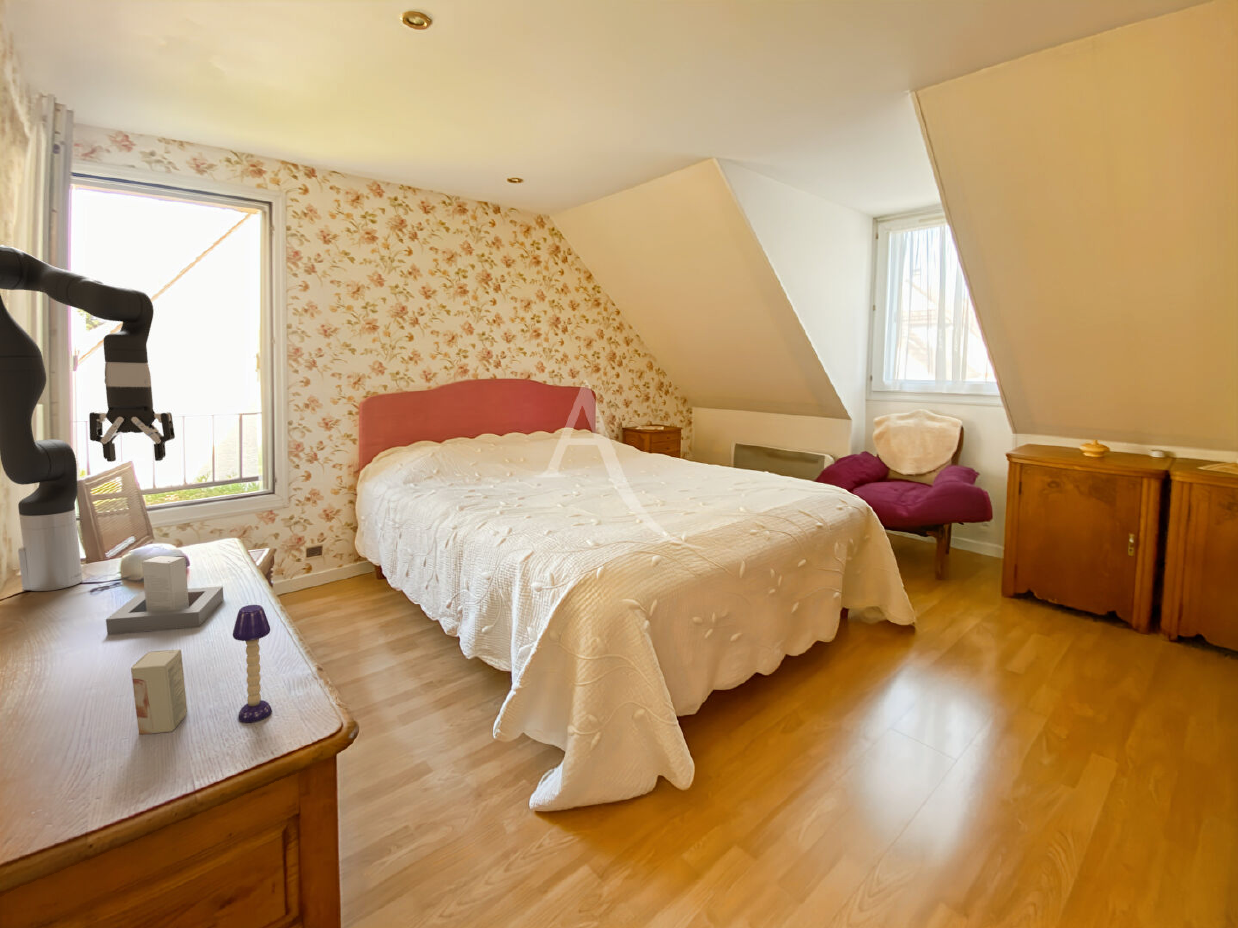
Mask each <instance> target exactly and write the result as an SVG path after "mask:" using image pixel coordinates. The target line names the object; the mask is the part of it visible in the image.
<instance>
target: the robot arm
mask: <svg viewBox="0 0 1238 928" xmlns="http://www.w3.org/2000/svg"><path fill="white" fill-rule="evenodd" d="M0 290H8V291H19V290H20V291H30V292H31V291H32V292H40V293H44V294H46V295H47V297H49V298H51V299H52V300H54V301H56V302H57V303H60V304H62V305H66V306H69V307H73V308H76V309H78V310H82V311H83V312H86V313H87V314H89V315H91V316H92V317H95V318H97V319H101V320H105V321H110V322H111V321H112V322H122V324H121V327H120V331H118V332H113V333H109V334H106V335H105V336H104V337H103V353H104V354H103V355H104V356H103V357H104V362H105V363H104V384H105V393H106V403H107V411H106V412H101V411H93V412H90V413H89V415H88V417H89V418H88V419H89V440H90V441H92V442H98V443H100V444H101V445H102V453H103V458H104V459H105V460H106V461H107V462H109V463H110V462H111V463H112V462H115V461H116V459H117V456H116V447H115V446H116V445H115V443H114V441H115V439H116V438H117V437H118V436H119V435H120V434H127V433H134V434H141V433H143V434H145V435H146V436H147V437H149V439H151V440H152V441H153V443H154V444H153V450H154V451H153V453H154V461H156V462H161V461H163V460H164V458H165V457H166V455H167V454H166V442H168V441H172V440H174V439H175V437H176V436H175V429H174V428H175V427H174V423H173V414H172V412H169V411H166V412H162V413H158V412H157V413H156V412H155V411H154V402H153V401H154V400H153V391H152V390H153V389H152V378H151V377H152V375H151V372H150V366H149V359H148V358H149V357H148V347H147V344H148V339H149V336H150V331H151V327H152V323H153V319H154V306H153V302H152V300H151V298H150V297H149V296H148V294H147V293H146V292H144V291H142V290H140V289H137V288H131V287H123V286H117V285H116V286H115V285H111V284H110V285H109V284H105V283H103V282H102V281H100V280H98V279H96V278H94V277H92V276H91V277H90V276H87V275H84V274H81V273H77V272H74V271H71V270H67V269H63V268H59V267H56V266H54V265H52V264H49V263H47V262H44V261H42V260H41V259H39V258H36V257H35V256H34V255H31V254H29V253H27V252H25V251H23V250H21V249H18V248H16V247H13V246H9V245H5V244H0ZM1 295H2V294H0V463H1V465H2V469H3V471H4V473H5V475H6V477H7V478H8V479H9V480H10V481H11V482H13V483H15V484H18V485H22V486H23V485H25V486H26V485H31V484H32V485H33V484H38V487H37V488H36V489H35V490H34V491H33V492H32V493H30V494H29V495H28V496H26V497H23V499H21V500H19V502H18V505H17V506H18V507H17V508H18V516H19V524H20V525H19V526H20V532H21V540H22V541H21V542H22V547H19V548H18V550H17V553H18V561H19V569H20V577H21V578H20V579H21V586H22V587H21V588H22V591H31V592H32V591H33V592H48V591H57V590H61V589H65V588H66V589H67V588H69V587H73V586H75V585H78V584H80V583H82V582H83V571H82V563H81V561H82V560H81V553H80V552H81V551H80V544H79V543H80V541H79V534H78V533H79V532H78V525H77V514H76V500H77V498H78V497H77V496H78V493H79V492H78V468H77V467H78V465H77V464H78V463H77V458H76V455H75V452H74V450H73V448H72V447H71V445H69V444H68V443H67V442H66V441H64V440H61V439H56V438H55V439H54V438H53V439H50V438H49V439H41V440H40V439H39V440H35V439H34V433H33V425H32V419H33V414H34V411H35V409H36V407H37V405H38V402H39V400H40V398H41V397H42V395H43V393H44V390H45V388H46V384H47V372H46V369H45V364H44V358H43V354H42V351H41V349H40V348H39V346H38V344H37V343H36V341H34V339H33V338H32V337H31V336H30V335H29V334H28V332H26V330H25V329H24V328H23V327H22V326H21V325H20V324H19V323H18V322H17V321H16V319H14V317H13V316H12V315H11V314H10V313H9V310H8V309H7V307H6V306H5V305H6V304H4V303H5V302H4V300H3V298H2V296H1ZM156 419H157V421H158V422H159V423H160V424H161V427H162V433H163V434H162V433H160V432H159V429H158V428H157V427H155V425H154V424H153V423H154V422H155V420H156ZM106 420H108V421H109V423H110V424H111V426H110V427H109V428H108V429H107V431H106V432H105V434H104V435H103V432H104V431H103V423H105V422H106Z"/></svg>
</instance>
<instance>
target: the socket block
mask: <svg viewBox="0 0 1238 928" xmlns="http://www.w3.org/2000/svg"><path fill="white" fill-rule="evenodd" d="M224 597H225V596H224V586H221V585H220V586H209V587H206V586H205V587H194V588H193V587H191V588H188V599H189V608H188V609H175V610H162V611H149V612H147V611H146V600H145V591H141V592H139V593H138V594H137V595H135V596H134V597H133V598H131V599H130V600H129V601H127V602H126V603H125V604H123V605H122V606H121V607H120V608H118V609H117V610H116V611H115V612H114V613H112V614H111V615H109V616H108V617H107V618H105V623H106V625H105V626H106V633H107V635H119V634H126V633H127V634H128V633H138V632H139V633H141V632H151V631H163V630H176V629H187V628H197V627H198V628H200V627H201V626H202V625H203V624H204V622H205V621H206V620H208V618H209V616H211V615H212V614H213V613H214V611H215V610H216V609H217V608H218V607H219V605H220V604H221V603H222V602H223V601H224V600H225V598H224Z"/></svg>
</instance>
